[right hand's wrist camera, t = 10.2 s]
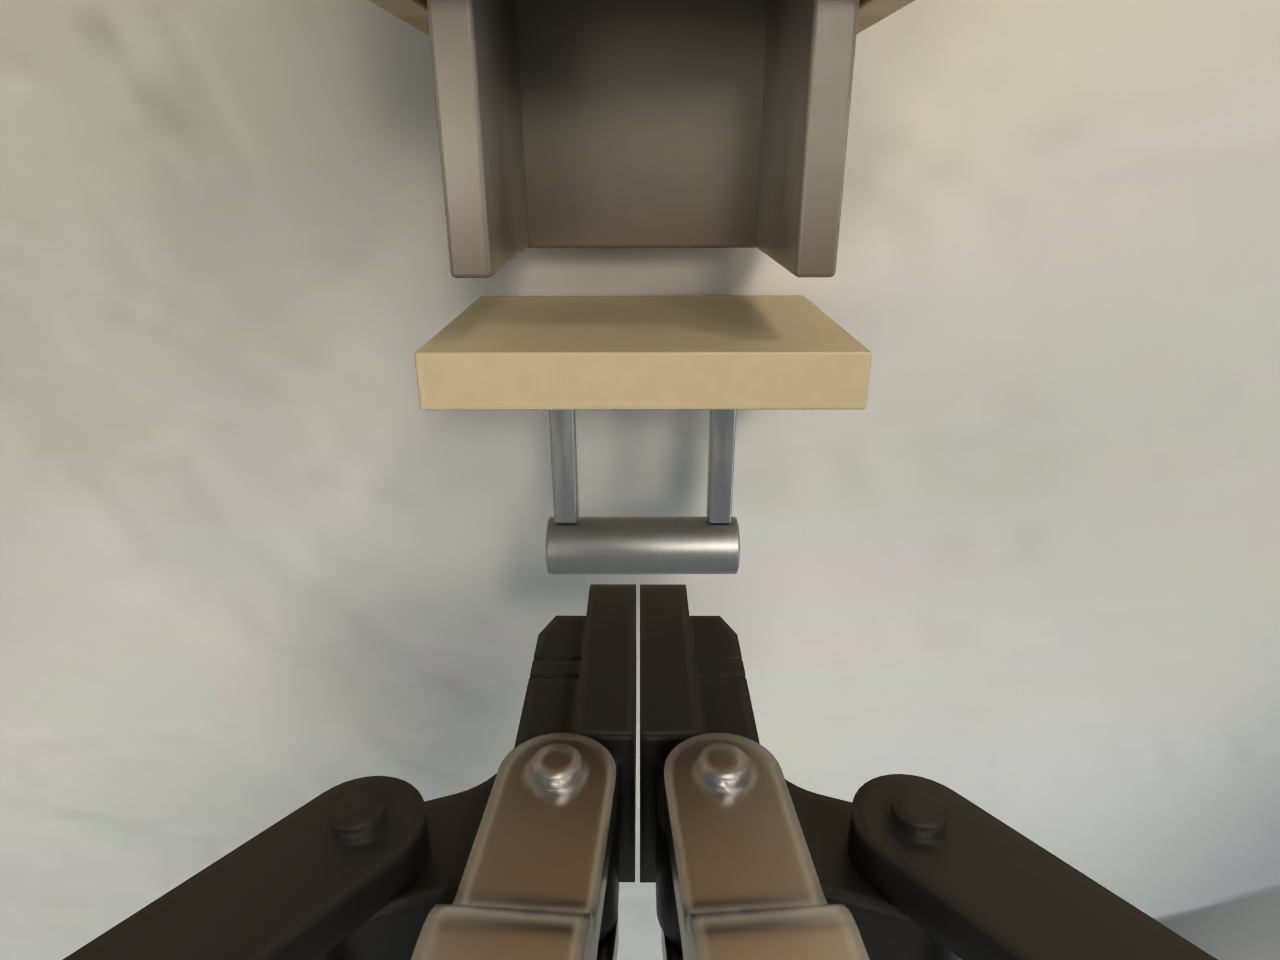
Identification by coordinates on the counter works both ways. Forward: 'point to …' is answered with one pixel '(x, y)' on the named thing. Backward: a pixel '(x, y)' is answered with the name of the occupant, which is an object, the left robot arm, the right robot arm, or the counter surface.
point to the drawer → (642, 228)
